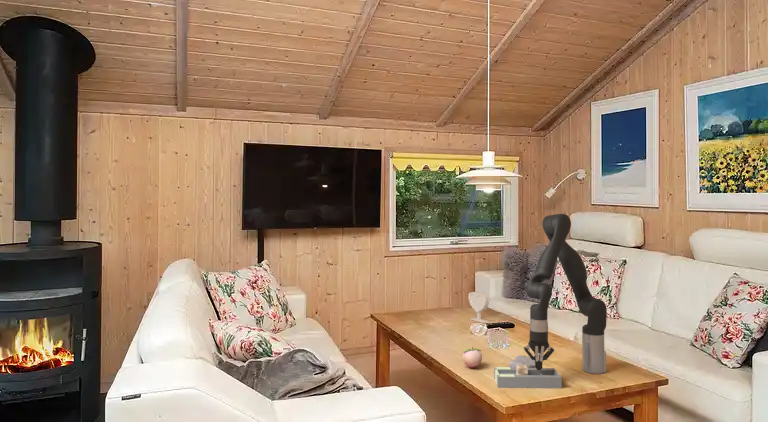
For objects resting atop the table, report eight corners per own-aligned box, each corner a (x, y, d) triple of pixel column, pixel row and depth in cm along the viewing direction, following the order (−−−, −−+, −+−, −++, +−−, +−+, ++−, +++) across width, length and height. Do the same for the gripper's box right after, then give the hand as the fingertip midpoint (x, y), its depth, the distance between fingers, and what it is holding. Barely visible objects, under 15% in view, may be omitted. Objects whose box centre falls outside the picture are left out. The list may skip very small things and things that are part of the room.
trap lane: (554, 378, 220) (554, 367, 220) (561, 388, 208) (561, 376, 208) (494, 377, 222) (494, 367, 222) (498, 387, 210) (497, 376, 210)
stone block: (537, 369, 237) (518, 361, 243) (539, 360, 236) (519, 352, 242) (527, 378, 228) (507, 369, 234) (529, 368, 227) (509, 359, 233)
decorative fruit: (469, 372, 229) (469, 350, 229) (459, 367, 237) (459, 346, 236) (486, 369, 233) (486, 348, 233) (476, 364, 240) (476, 343, 240)
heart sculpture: (467, 318, 330) (467, 291, 330) (473, 317, 333) (472, 290, 333) (485, 323, 318) (484, 294, 317) (490, 321, 320) (490, 293, 320)
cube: (525, 374, 217) (525, 365, 217) (527, 377, 213) (527, 368, 213) (516, 374, 217) (516, 365, 217) (518, 377, 213) (518, 368, 213)
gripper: (552, 327, 218) (552, 366, 218) (521, 326, 219) (521, 366, 219) (556, 331, 210) (556, 372, 210) (524, 331, 211) (524, 372, 212)
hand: (538, 369), depth 215 cm, fingers closed
